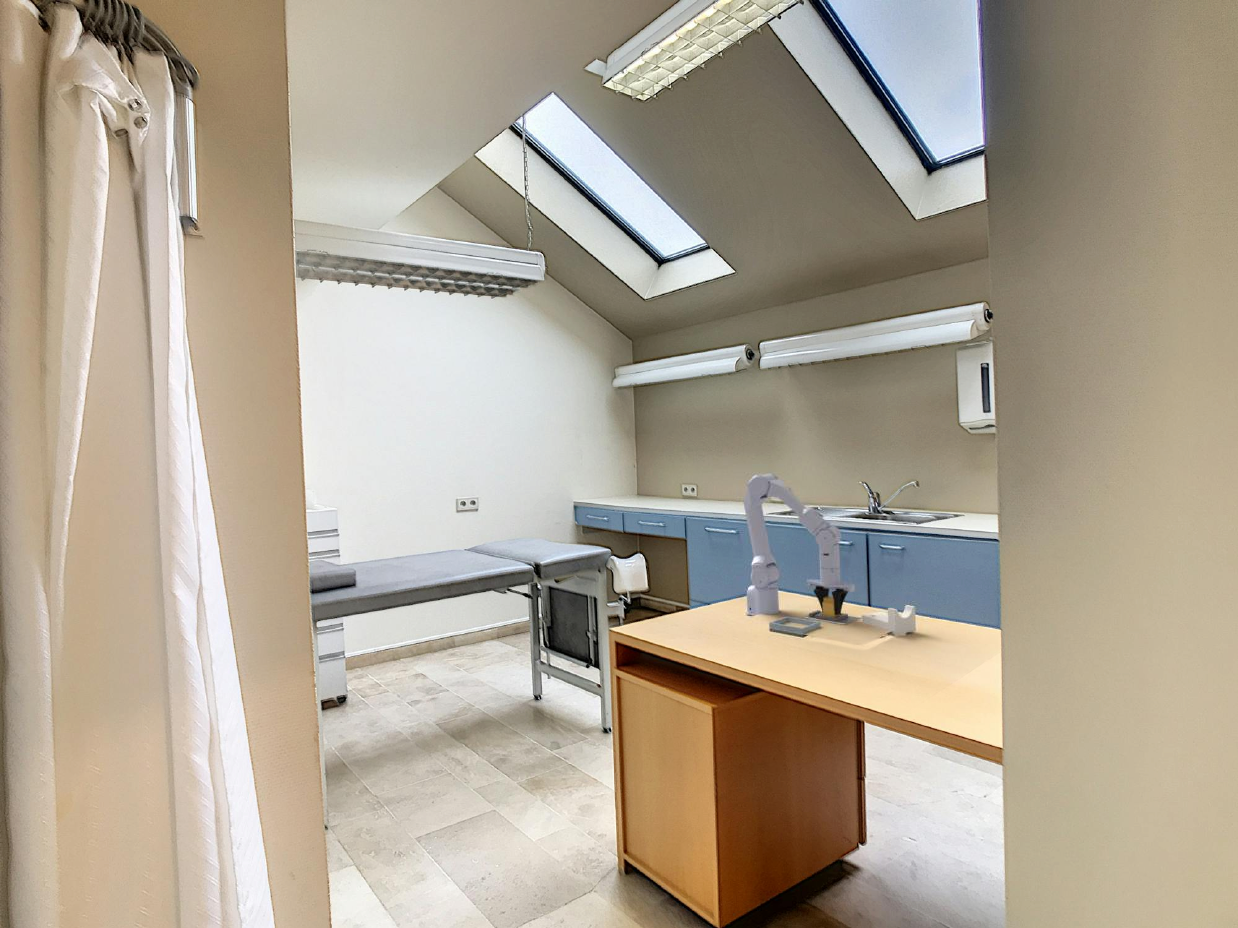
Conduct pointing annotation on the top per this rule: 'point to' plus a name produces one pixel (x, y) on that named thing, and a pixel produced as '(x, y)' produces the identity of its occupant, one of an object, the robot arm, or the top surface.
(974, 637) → the top surface
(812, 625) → the parts tray
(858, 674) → the top surface
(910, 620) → the bracket
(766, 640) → the top surface
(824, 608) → the block
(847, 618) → the grey socket base
